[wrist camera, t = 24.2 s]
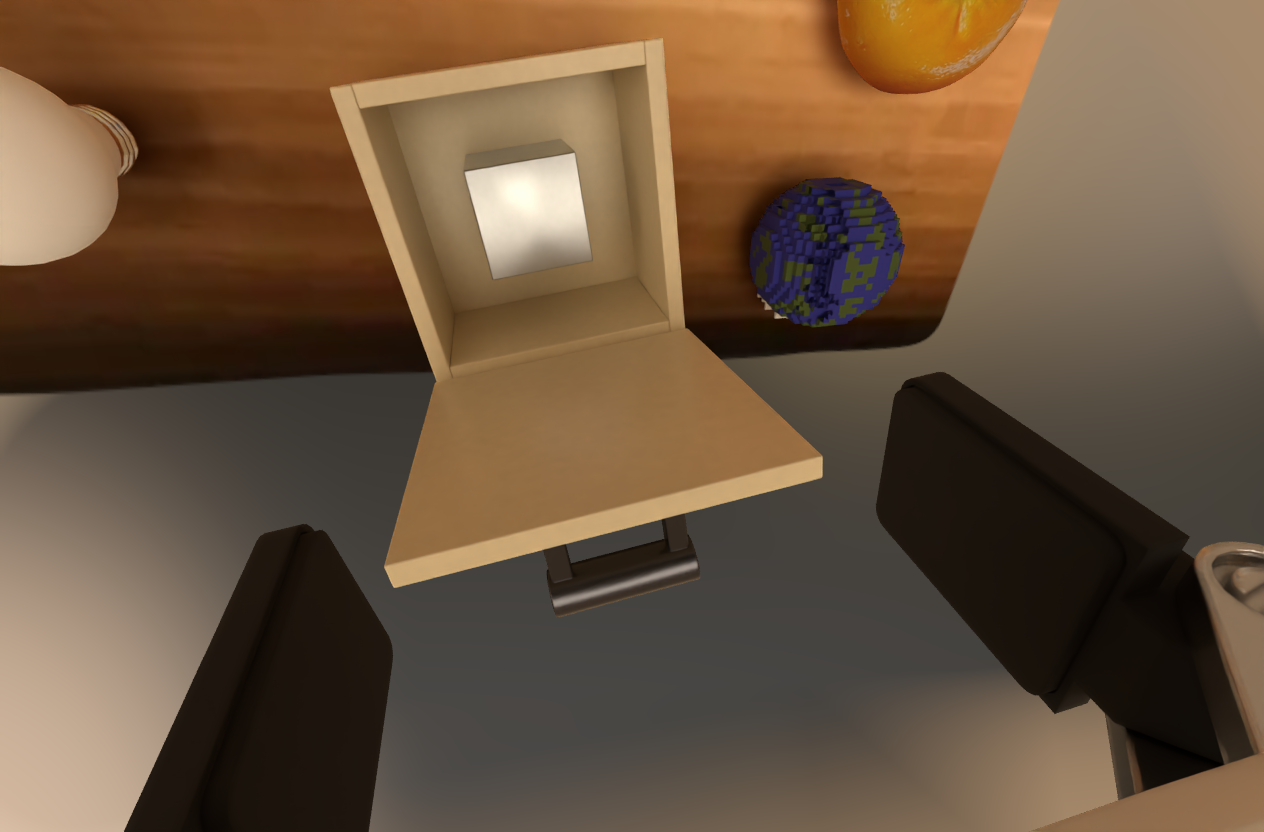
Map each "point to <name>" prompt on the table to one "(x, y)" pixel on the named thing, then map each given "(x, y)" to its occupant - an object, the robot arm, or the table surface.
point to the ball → (825, 251)
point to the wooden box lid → (589, 465)
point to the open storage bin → (445, 220)
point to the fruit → (922, 39)
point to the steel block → (529, 207)
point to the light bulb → (56, 172)
